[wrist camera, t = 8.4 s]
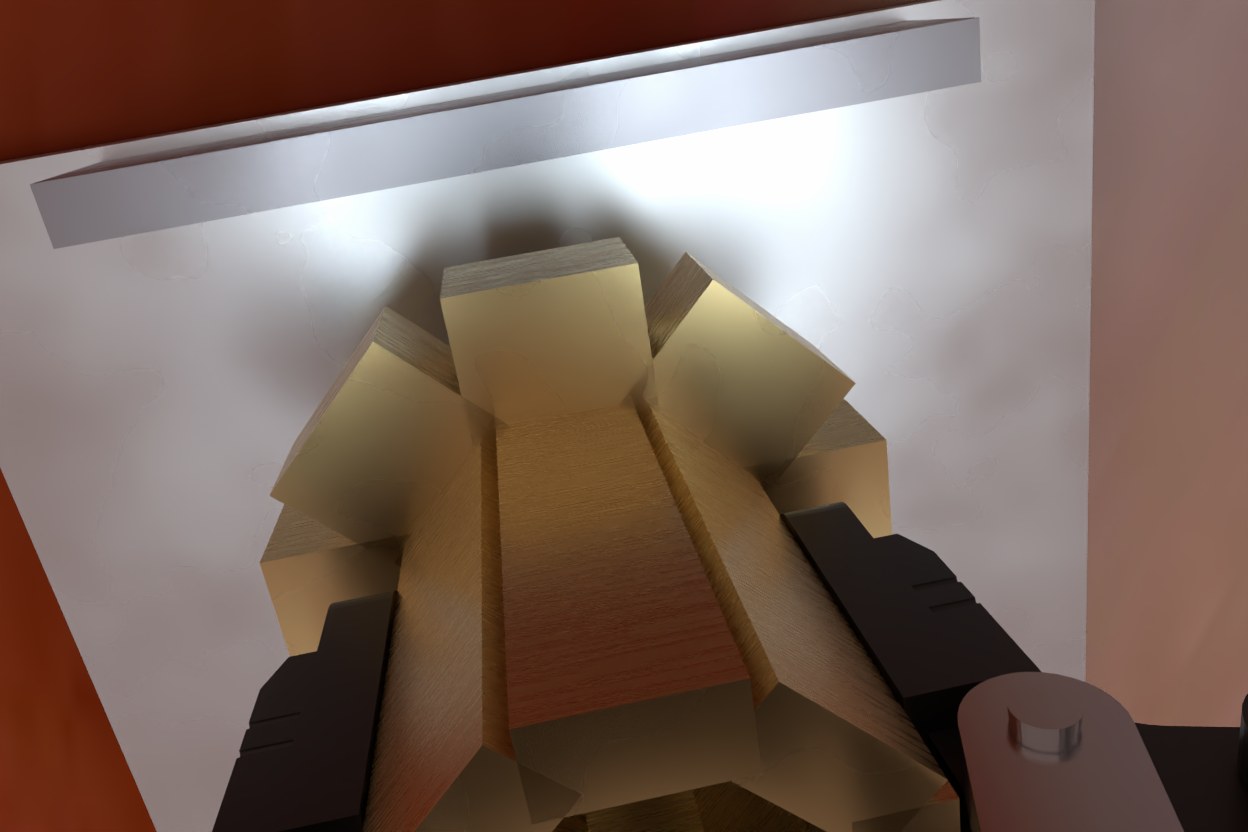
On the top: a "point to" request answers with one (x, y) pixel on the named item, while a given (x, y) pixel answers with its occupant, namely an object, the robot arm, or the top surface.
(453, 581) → the gear
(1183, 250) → the top surface
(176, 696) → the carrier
